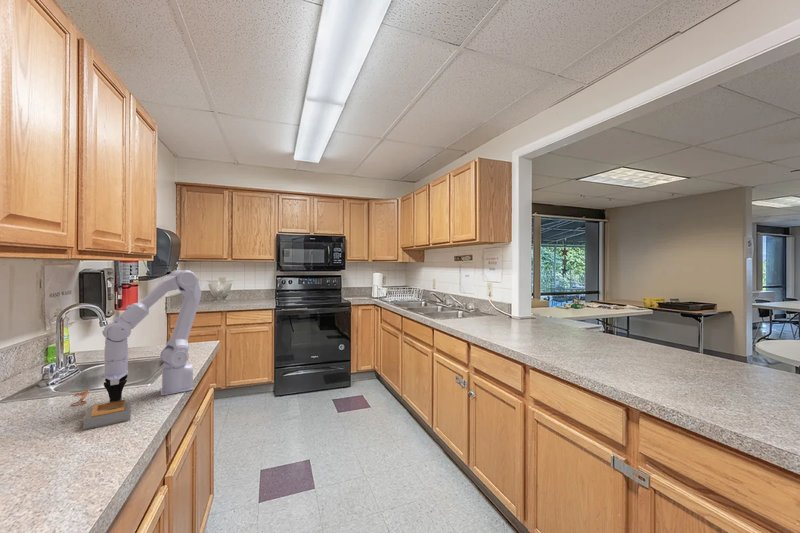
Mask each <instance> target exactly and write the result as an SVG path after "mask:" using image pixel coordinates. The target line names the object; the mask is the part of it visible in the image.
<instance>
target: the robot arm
mask: <svg viewBox="0 0 800 533" xmlns="http://www.w3.org/2000/svg"><path fill="white" fill-rule="evenodd" d="M199 281H200V278H199V276H197V275H196V273H195V272H193V271H192V270H189V269H188V270H187V269H185V270H181V269H175V270H173V271H171V272H170V273H169V275H166V276H165V277H164V278H162V280H161V281H159V283H158V284H157V285H156V286H154V288H153V289H152V290H151V291H150V292H149V293H148V294H147V295H146V296H145V297H143V299H142V300H141V301H140V302H134V303H131V305H129V304H127V306H126V307H125V310H124V311H123V312H122V313H121V314H120V315H119V316H117V317H114V318H113V319H112V322H110V323H108V324H106V325H105V326H104V328H103V330H102V332H101V333H102V335H103V337H104V338H105V339H104V340H105V341H104V362H103V364H104V366H103V367H104V368H103V369H104V372H103V373H100V374H99V375H98V377H99V378H100V379H101V378H105V379H104V382H103V387H104V388H105V389H106V392H107V394H108V397H109V398H108V399H109V402H114V401H119V400H120V399H121V394H123V391H124V388H125V385H126V383H127V382H128V379H127V378H128V375H129V370H128V363H129V362H128V360H129V359H128V358H129V357H128V356H129V354H128V353H129V352H128V351H129V350H128V349H129V348H128V347H129V345H128V344H129V343H128V337H130V335H131V334H132V329H134V328H135V327H136V326H137V325H139V324H140V323H141V322H142V321H143V320H144V319H145V318H146V317H147V316H148V315H149V312H150V311H149V310H150V308H152V306H153V305H154V304H156V303H158V301H159V300H161V299H162V298H163V297H164V296H165V295H166V294H167V293H169V292H171V291H172V292H173V291H176V290H179V291H180V293H181V294H182V295H183V300H182V303H181V306H180V309H179V312H178V316H177V319H176V321H175V325H174V329H173V332H172V334H171V337H170V339H169V340H168V341H167V342H166V345H165V347H164V348H163V349H162V350H161V352H160V354H159V355H160V357H159V358H160V360H161V362H163V364H162V366H161V387H160V388H159V390H160V396H167V395H172V394H176V393H177V394H178V393H184V392H189V391H192V390H194V386H193V385H194V369H193V368H194V366H193V363H187V362H188V361H189V358H190V357H189V356H190V354H189V348H190V345H189V341H188V340H189V338H190V333H191V331H192V327H193V324H194V320H195V317H196V314H197V311H198V307H199V305H200V302H201V301H200V300H201V298H202V290H201V286H200V282H199Z"/></svg>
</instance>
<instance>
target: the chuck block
mask: <svg viewBox="0 0 800 533" xmlns="http://www.w3.org/2000/svg"><path fill="white" fill-rule="evenodd" d="M131 412H132V401H131V400H129V401H126V400H125V399H122V400H119V401H114V402H110V401H109V402H103V403H99V404H94V405H93V407H92V408H88V409H86V412H85V414H84V417H83V431H86V430H90V429H94V428H99V427H103V426H109V425H113V424H117V423H118V424H119V423H123V422H127V421H131V414H132V413H131Z"/></svg>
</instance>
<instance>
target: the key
mask: <svg viewBox="0 0 800 533" xmlns="http://www.w3.org/2000/svg"><path fill="white" fill-rule="evenodd" d="M88 391H89V392H90V389H87V390H86V392H85V391H81V392H76V393H75V394H74V395H73V396H72V397H81V398H80V399H79V400H78V401H77V402H74V403H72V404H70V406H69V407H79V405H80V406H83V405H85V404H87V401H86V400H84V399H85V398H86V396H88V394H89V392H88ZM82 402H83V403H82Z"/></svg>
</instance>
